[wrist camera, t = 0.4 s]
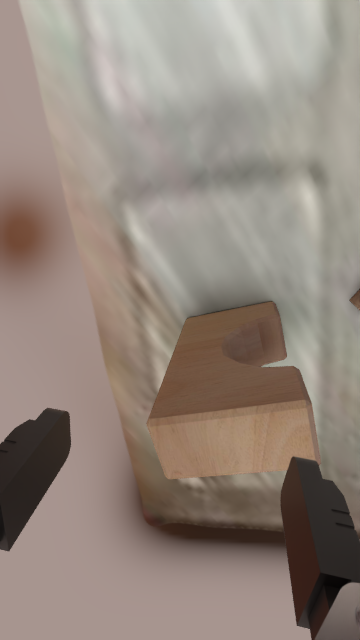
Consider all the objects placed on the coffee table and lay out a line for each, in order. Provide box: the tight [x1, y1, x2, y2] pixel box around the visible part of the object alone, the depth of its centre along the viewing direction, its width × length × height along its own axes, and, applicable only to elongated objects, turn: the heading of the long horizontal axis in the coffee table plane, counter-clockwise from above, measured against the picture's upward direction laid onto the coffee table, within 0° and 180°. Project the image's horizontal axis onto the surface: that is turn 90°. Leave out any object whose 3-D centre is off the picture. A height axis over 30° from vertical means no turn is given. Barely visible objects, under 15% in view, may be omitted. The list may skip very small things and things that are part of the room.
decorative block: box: [147, 301, 321, 479], centre depth 31 cm, size 11×6×20 cm, turn 104°
